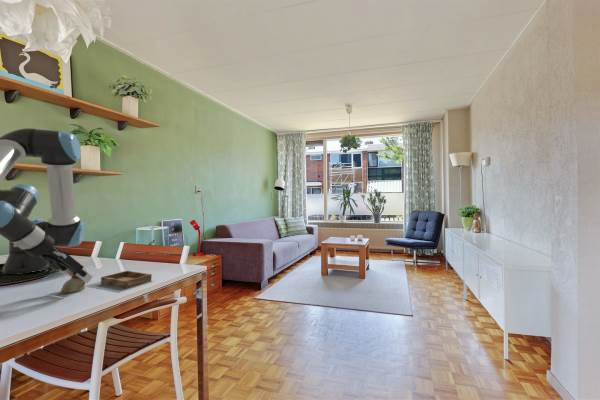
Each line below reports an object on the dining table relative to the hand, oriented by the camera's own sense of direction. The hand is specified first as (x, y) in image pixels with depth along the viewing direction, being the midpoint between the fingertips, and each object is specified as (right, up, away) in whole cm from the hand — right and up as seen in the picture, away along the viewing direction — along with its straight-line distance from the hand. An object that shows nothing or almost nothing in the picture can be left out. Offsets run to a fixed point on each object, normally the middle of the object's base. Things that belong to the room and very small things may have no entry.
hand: (84, 278), depth 110 cm
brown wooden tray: (+11, -4, +8) cm, 14 cm away
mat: (+10, -4, +6) cm, 12 cm away
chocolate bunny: (-1, -3, -4) cm, 5 cm away
